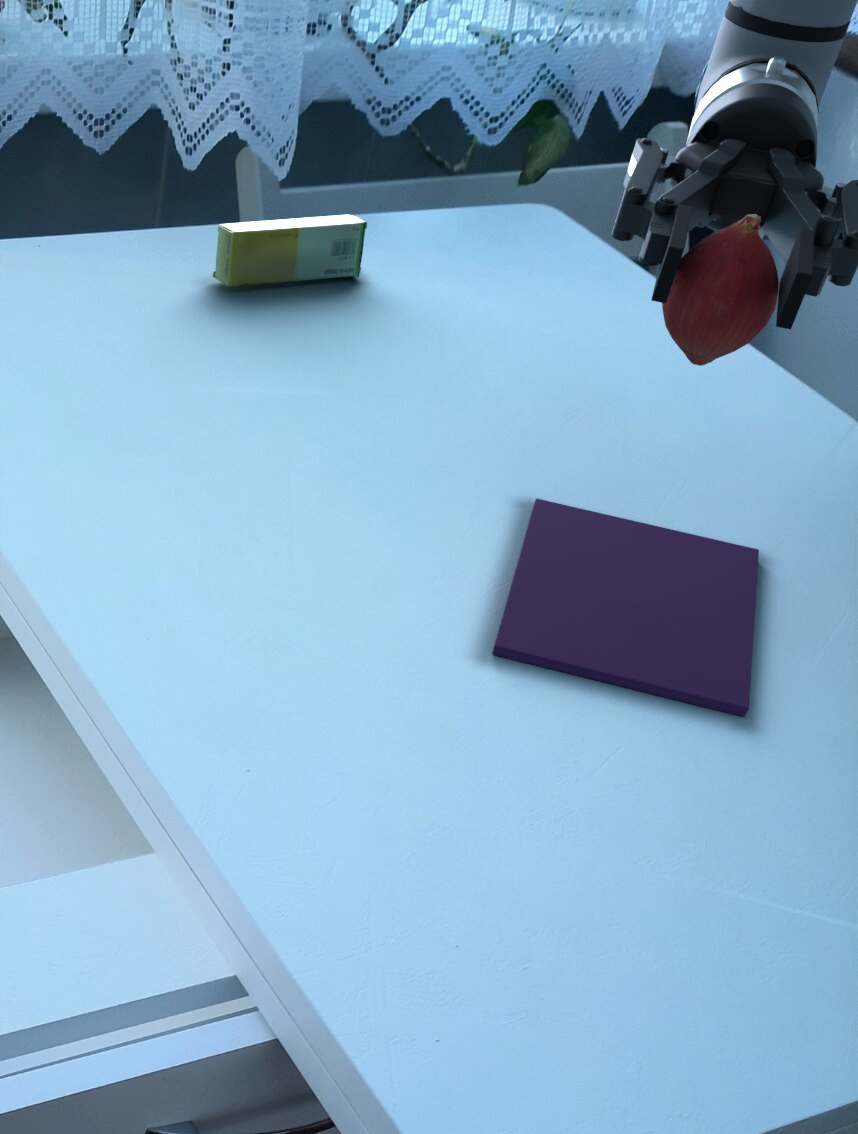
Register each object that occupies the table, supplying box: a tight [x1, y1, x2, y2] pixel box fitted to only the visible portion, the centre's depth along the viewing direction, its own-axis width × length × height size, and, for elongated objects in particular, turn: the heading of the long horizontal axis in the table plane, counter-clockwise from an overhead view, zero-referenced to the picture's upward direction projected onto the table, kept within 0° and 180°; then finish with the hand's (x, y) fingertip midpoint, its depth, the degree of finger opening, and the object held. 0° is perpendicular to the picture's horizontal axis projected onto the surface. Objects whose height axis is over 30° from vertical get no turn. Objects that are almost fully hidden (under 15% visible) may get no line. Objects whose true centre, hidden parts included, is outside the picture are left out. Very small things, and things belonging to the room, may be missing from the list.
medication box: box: [212, 214, 368, 287], centre depth 117 cm, size 12×3×4 cm, turn 114°
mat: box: [492, 498, 760, 717], centre depth 90 cm, size 14×18×1 cm
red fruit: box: [661, 214, 780, 367], centre depth 82 cm, size 6×6×8 cm
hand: (730, 287), depth 77 cm, fingers closed on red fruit, 6 cm apart
